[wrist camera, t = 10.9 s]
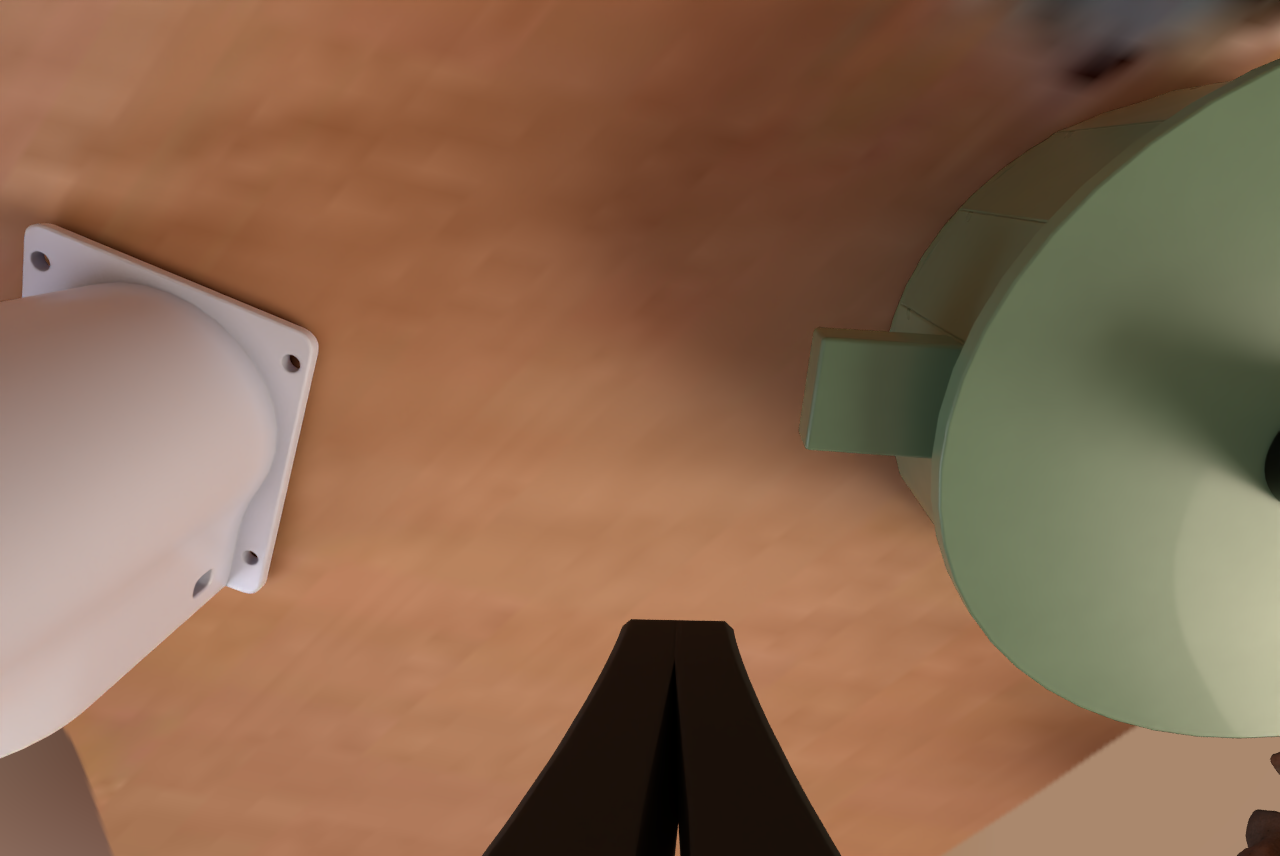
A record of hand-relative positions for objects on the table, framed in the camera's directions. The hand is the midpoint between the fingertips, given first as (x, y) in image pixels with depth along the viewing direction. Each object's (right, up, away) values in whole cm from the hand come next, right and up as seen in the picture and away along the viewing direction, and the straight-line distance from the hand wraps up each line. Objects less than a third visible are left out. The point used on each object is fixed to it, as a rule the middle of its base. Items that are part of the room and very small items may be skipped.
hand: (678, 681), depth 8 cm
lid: (+12, +3, +3) cm, 13 cm away
